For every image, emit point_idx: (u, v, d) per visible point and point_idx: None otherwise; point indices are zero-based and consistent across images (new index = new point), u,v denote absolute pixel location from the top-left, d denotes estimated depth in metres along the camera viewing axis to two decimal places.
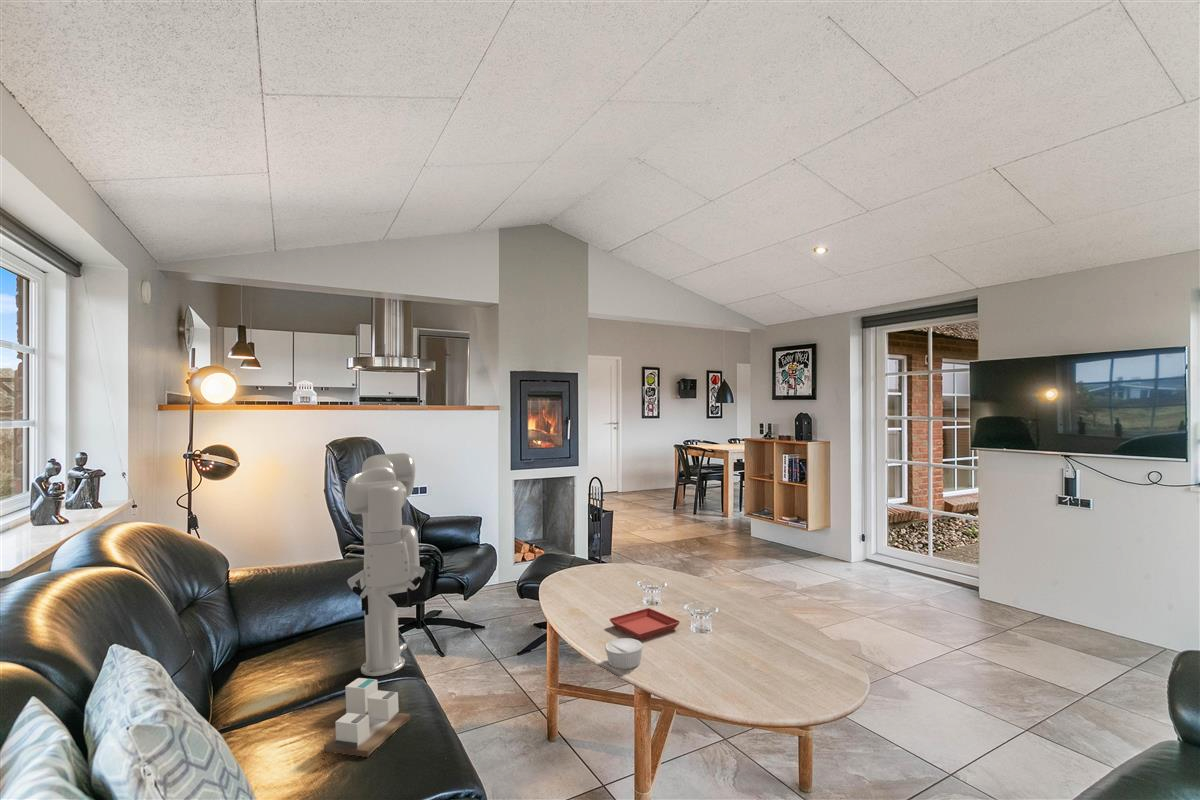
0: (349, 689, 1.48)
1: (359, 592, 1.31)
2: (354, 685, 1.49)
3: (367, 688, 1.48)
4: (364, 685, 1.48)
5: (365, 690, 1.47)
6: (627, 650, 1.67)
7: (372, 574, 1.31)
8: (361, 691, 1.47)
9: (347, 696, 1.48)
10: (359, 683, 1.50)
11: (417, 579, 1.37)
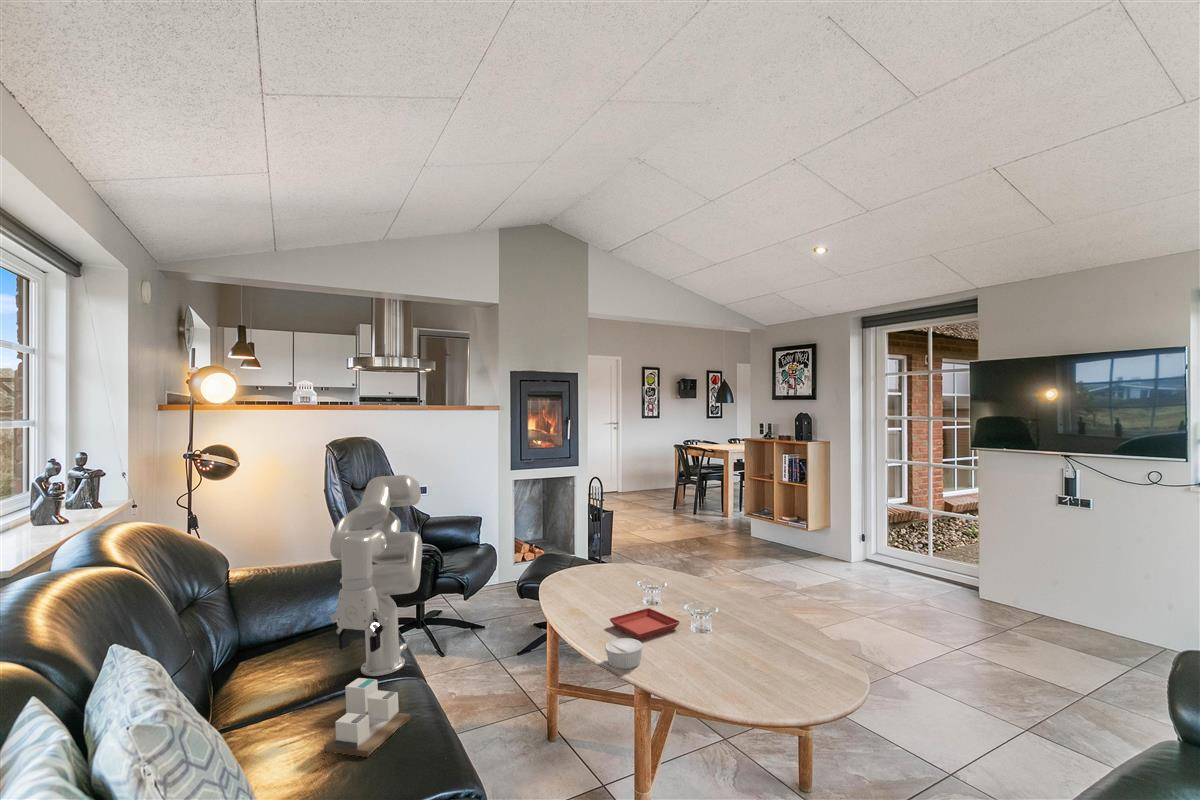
0: (349, 689, 1.48)
1: None
2: (354, 685, 1.49)
3: (367, 688, 1.48)
4: (364, 685, 1.48)
5: (365, 690, 1.47)
6: (627, 650, 1.67)
7: None
8: (361, 691, 1.47)
9: (347, 696, 1.48)
10: (359, 683, 1.50)
11: None
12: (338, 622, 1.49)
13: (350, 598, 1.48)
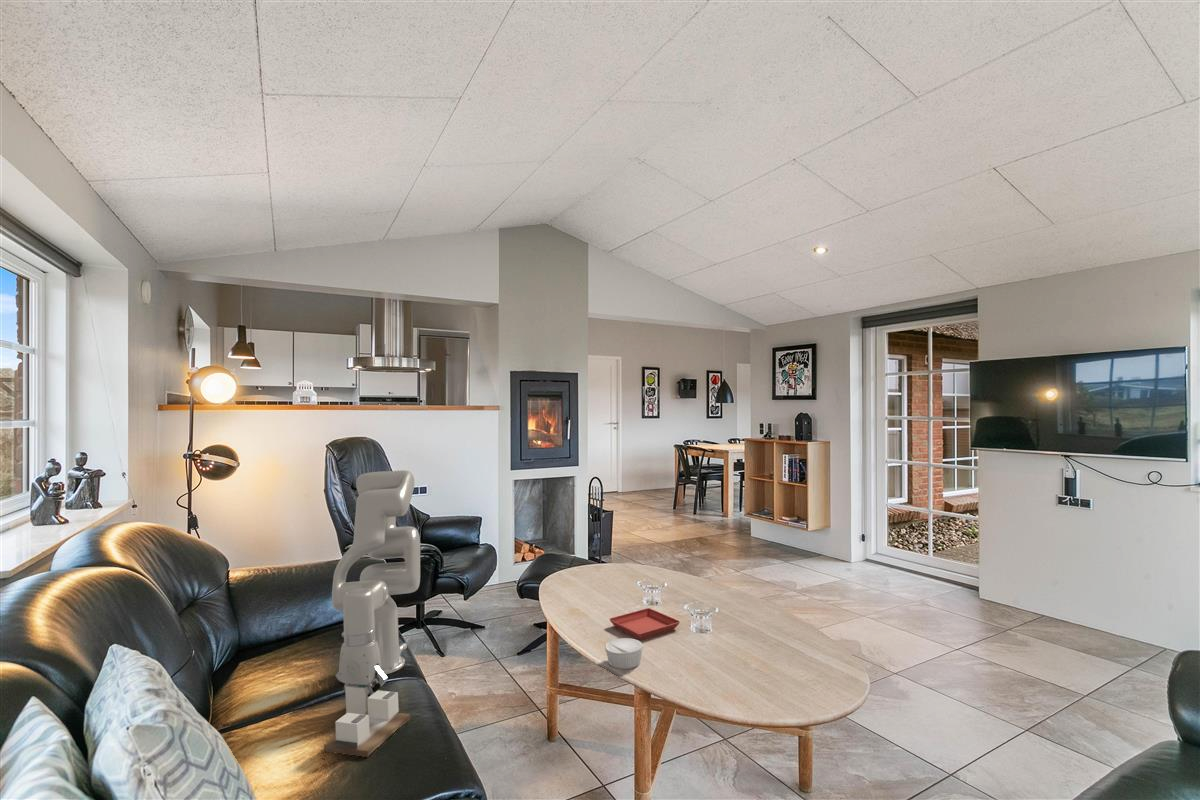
0: (349, 689, 1.48)
1: None
2: (354, 685, 1.49)
3: (367, 688, 1.48)
4: (364, 685, 1.48)
5: (365, 690, 1.47)
6: (627, 650, 1.67)
7: None
8: (361, 691, 1.47)
9: (347, 696, 1.48)
10: None
11: None
12: (340, 677, 1.49)
13: (352, 653, 1.48)
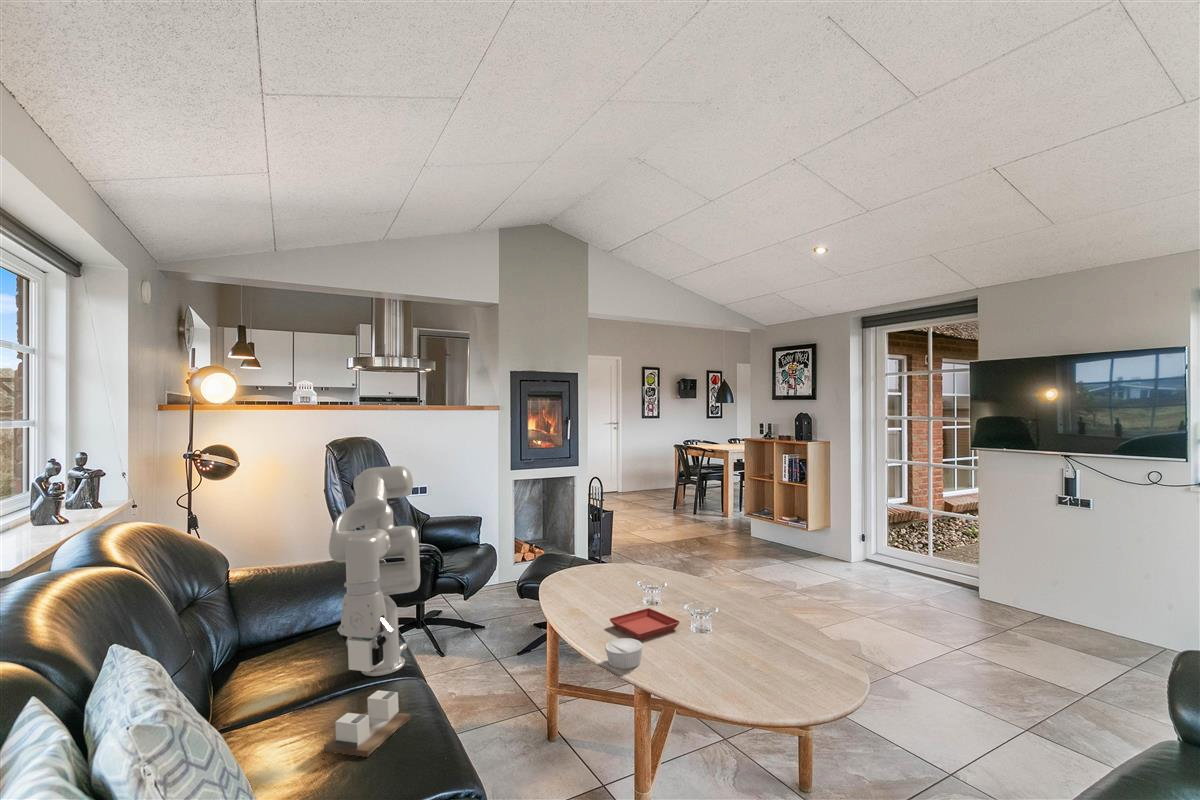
0: (352, 643, 1.36)
1: None
2: (357, 639, 1.37)
3: (371, 641, 1.36)
4: (368, 638, 1.36)
5: (369, 643, 1.35)
6: (627, 650, 1.67)
7: None
8: (365, 645, 1.35)
9: (350, 650, 1.36)
10: None
11: None
12: (342, 629, 1.37)
13: (356, 603, 1.36)
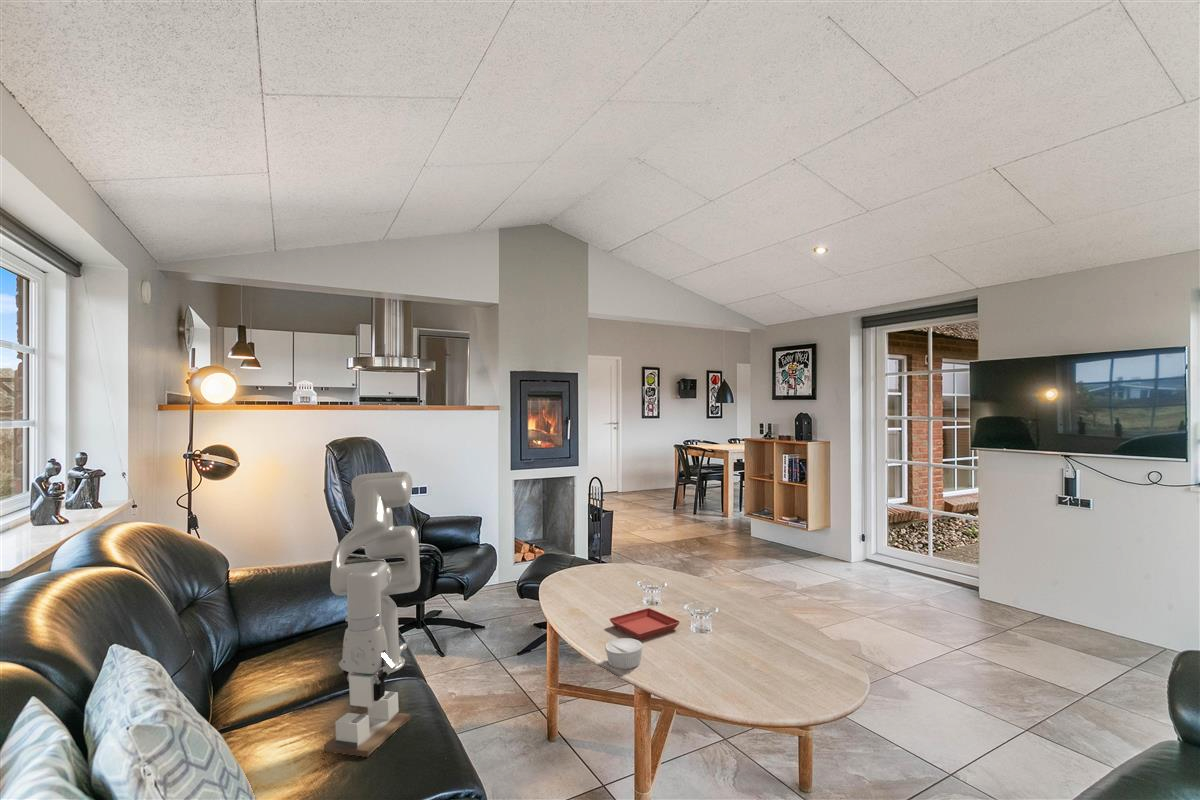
0: (353, 678, 1.36)
1: None
2: (358, 674, 1.37)
3: (373, 677, 1.35)
4: (369, 674, 1.36)
5: (371, 679, 1.35)
6: (627, 650, 1.67)
7: None
8: (366, 680, 1.35)
9: (351, 685, 1.36)
10: None
11: None
12: (344, 665, 1.36)
13: (357, 639, 1.35)
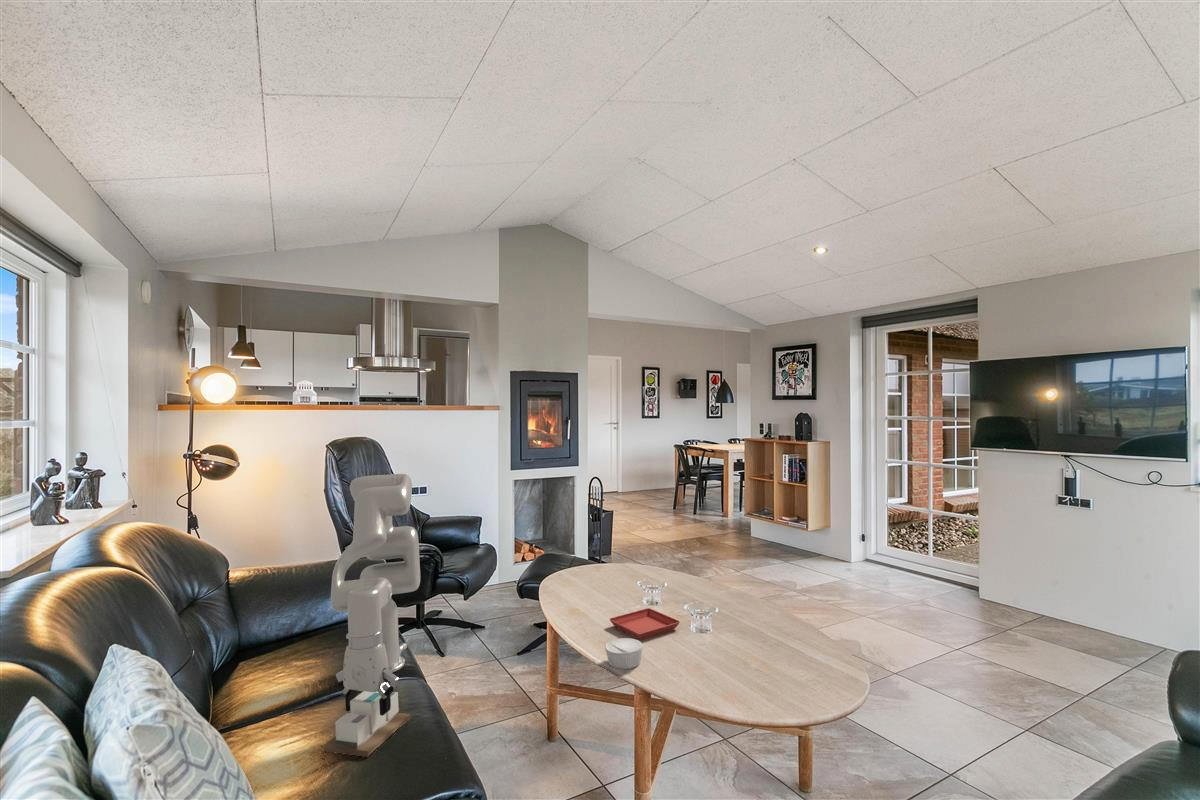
0: (354, 704, 1.36)
1: None
2: (359, 699, 1.37)
3: (374, 702, 1.36)
4: (370, 699, 1.36)
5: (372, 705, 1.35)
6: (627, 650, 1.67)
7: None
8: (367, 706, 1.35)
9: (352, 711, 1.36)
10: (365, 697, 1.38)
11: None
12: (344, 682, 1.36)
13: (358, 657, 1.35)
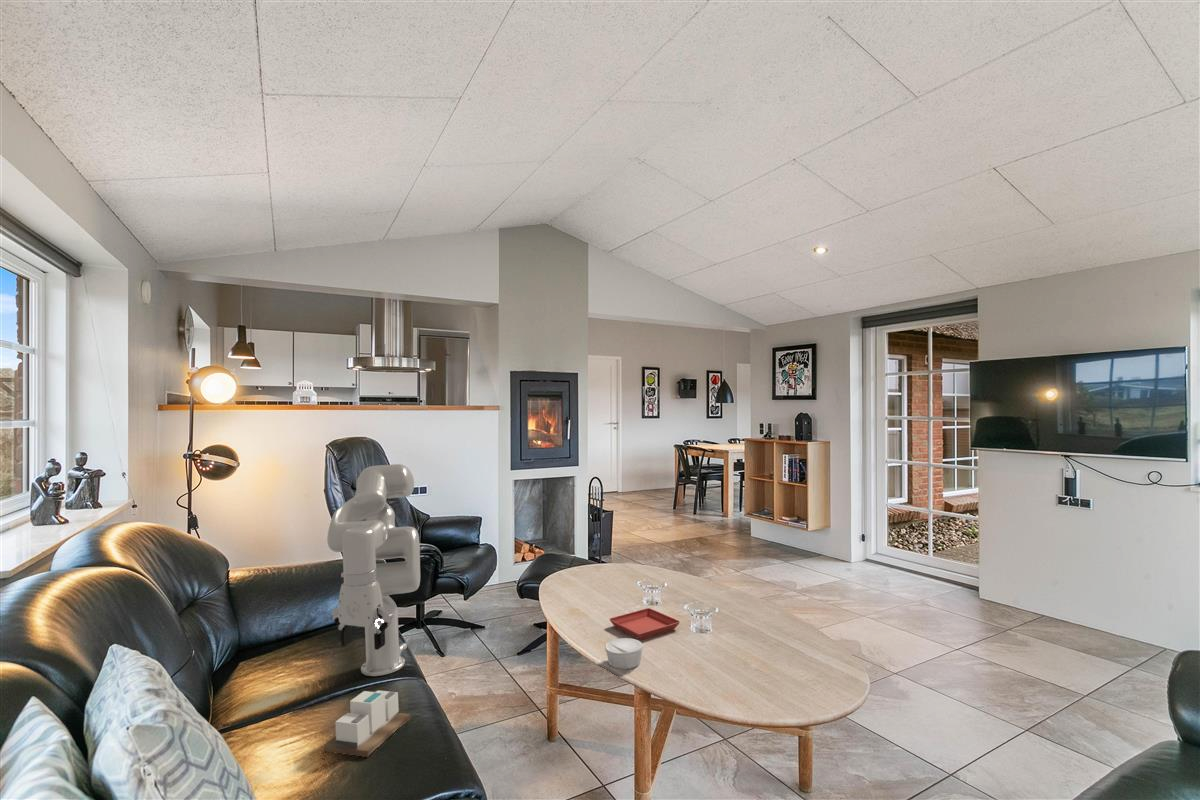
0: (354, 704, 1.36)
1: None
2: (359, 699, 1.37)
3: (374, 702, 1.36)
4: (370, 699, 1.36)
5: (372, 705, 1.35)
6: (627, 650, 1.67)
7: None
8: (367, 706, 1.35)
9: (352, 711, 1.36)
10: (365, 697, 1.38)
11: None
12: (340, 618, 1.40)
13: (353, 593, 1.39)
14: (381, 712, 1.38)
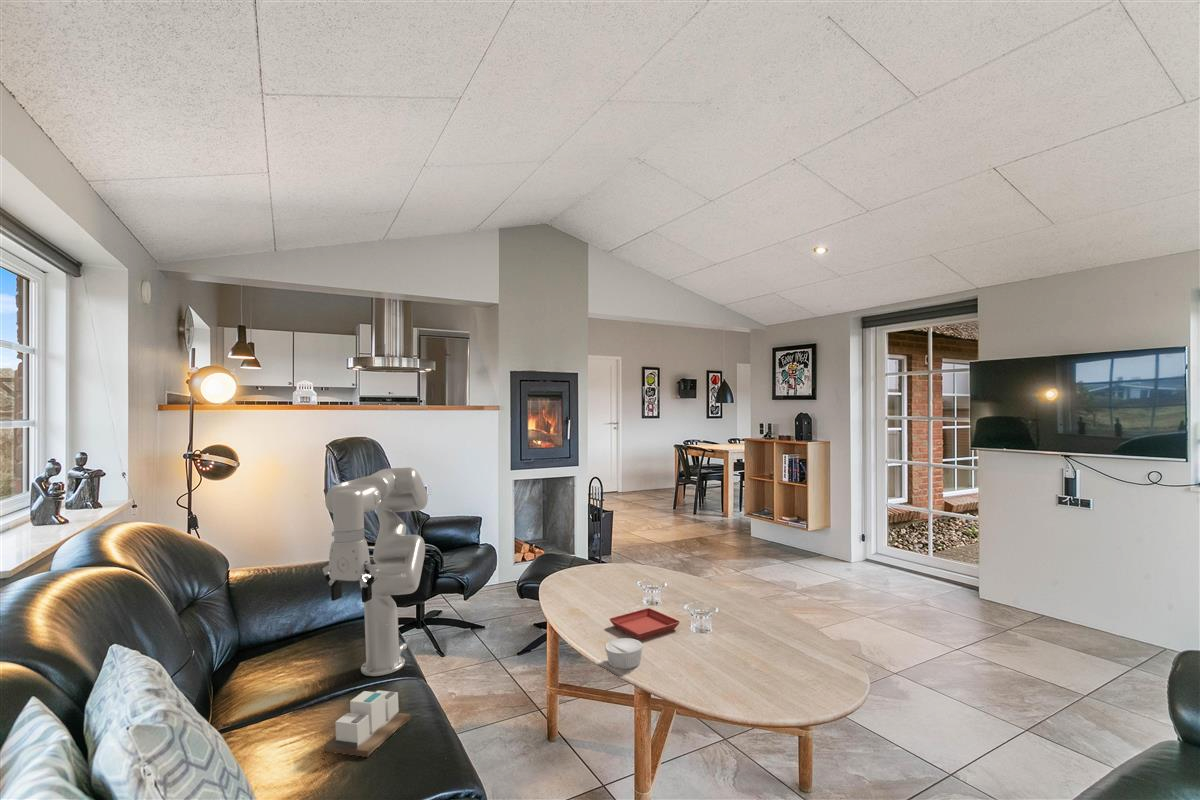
0: (354, 704, 1.36)
1: None
2: (359, 699, 1.37)
3: (374, 702, 1.36)
4: (370, 699, 1.36)
5: (372, 705, 1.35)
6: (627, 650, 1.67)
7: None
8: (367, 706, 1.35)
9: (352, 711, 1.36)
10: (365, 697, 1.38)
11: None
12: (330, 573, 1.51)
13: (342, 550, 1.50)
14: (381, 712, 1.38)
